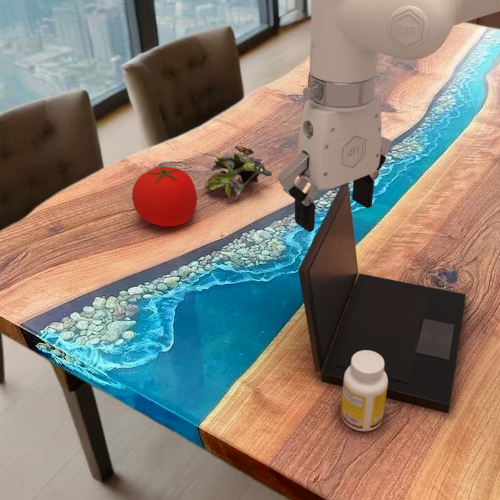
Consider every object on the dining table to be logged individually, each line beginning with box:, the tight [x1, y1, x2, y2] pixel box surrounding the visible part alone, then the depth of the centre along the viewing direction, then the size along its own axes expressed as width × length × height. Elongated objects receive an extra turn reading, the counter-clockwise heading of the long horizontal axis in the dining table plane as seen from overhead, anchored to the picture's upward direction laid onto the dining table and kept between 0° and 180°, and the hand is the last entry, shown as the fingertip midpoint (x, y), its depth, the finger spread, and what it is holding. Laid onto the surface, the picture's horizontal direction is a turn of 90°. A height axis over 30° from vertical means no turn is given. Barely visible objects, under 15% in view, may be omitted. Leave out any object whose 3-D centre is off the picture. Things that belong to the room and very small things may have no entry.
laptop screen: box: [297, 182, 359, 374], centre depth 93 cm, size 17×24×1 cm
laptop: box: [320, 272, 467, 413], centre depth 95 cm, size 17×24×2 cm
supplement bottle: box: [340, 350, 388, 432], centre depth 81 cm, size 5×5×10 cm
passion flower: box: [204, 145, 273, 203], centre depth 130 cm, size 11×11×12 cm
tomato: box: [131, 165, 198, 228], centre depth 121 cm, size 12×12×10 cm
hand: (333, 214), depth 84 cm, fingers open, 9 cm apart
